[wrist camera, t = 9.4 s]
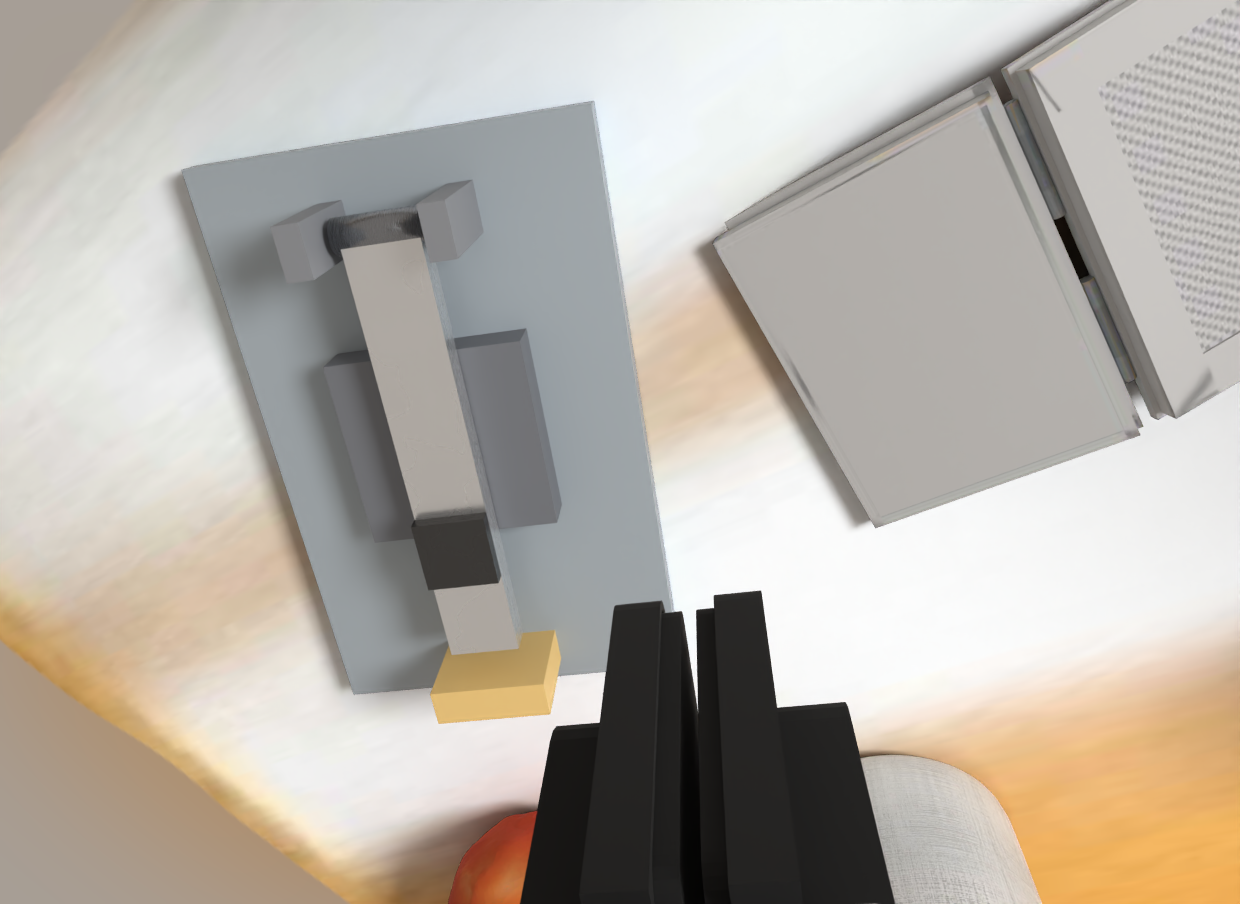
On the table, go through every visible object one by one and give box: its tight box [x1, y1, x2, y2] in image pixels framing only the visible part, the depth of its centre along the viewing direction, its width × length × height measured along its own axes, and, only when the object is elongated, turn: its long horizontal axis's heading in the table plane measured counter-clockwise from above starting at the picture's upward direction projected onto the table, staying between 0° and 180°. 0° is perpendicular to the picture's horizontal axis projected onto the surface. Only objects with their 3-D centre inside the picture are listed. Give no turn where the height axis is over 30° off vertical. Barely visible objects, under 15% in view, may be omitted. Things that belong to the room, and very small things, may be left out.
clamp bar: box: [327, 205, 523, 655], centre depth 38 cm, size 19×4×2 cm, turn 9°
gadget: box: [713, 0, 1240, 528], centre depth 36 cm, size 23×15×4 cm, turn 122°
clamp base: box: [181, 101, 674, 724], centre depth 39 cm, size 25×16×6 cm, turn 9°
